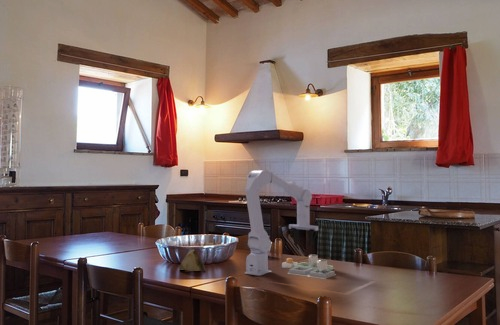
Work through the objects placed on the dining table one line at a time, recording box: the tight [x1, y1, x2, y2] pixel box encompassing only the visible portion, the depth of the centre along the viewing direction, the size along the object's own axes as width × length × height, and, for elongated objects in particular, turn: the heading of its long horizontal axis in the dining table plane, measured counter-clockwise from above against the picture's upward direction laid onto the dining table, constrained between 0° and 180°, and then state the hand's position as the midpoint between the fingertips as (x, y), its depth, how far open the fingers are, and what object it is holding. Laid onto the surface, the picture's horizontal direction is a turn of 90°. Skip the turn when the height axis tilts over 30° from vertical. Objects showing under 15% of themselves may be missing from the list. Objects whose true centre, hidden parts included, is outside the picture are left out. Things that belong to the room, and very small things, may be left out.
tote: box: [293, 261, 334, 271], centre depth 202 cm, size 8×15×2 cm, turn 52°
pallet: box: [287, 266, 337, 280], centre depth 191 cm, size 10×18×2 cm, turn 52°
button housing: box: [281, 261, 298, 269], centre depth 207 cm, size 5×5×2 cm
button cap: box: [286, 257, 294, 264], centre depth 207 cm, size 3×3×3 cm
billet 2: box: [317, 258, 328, 274], centre depth 188 cm, size 4×4×6 cm
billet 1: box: [308, 253, 319, 268], centre depth 202 cm, size 4×4×6 cm
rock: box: [178, 248, 206, 272], centre depth 204 cm, size 11×9×10 cm
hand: (303, 245), depth 211 cm, fingers open, 7 cm apart
